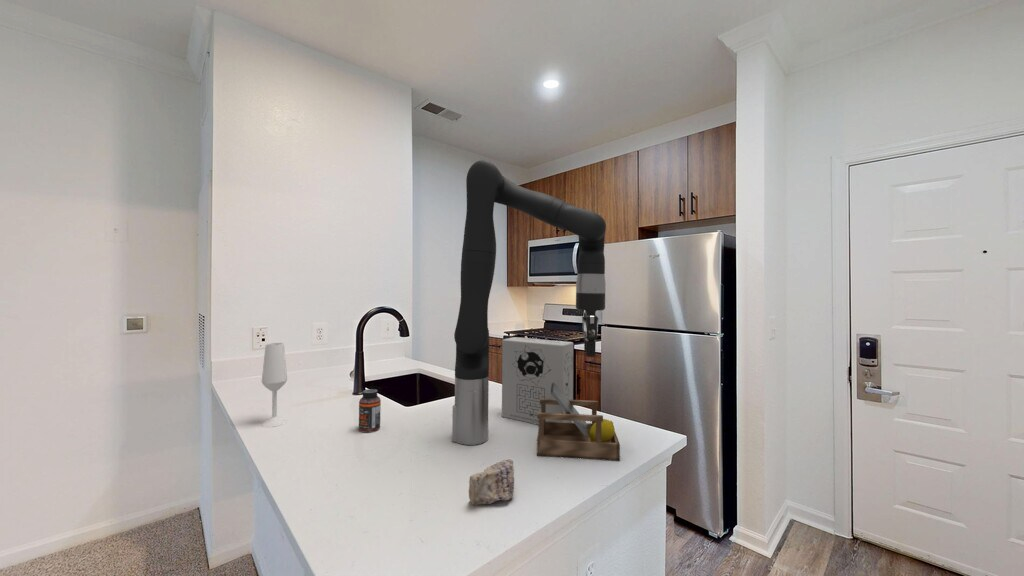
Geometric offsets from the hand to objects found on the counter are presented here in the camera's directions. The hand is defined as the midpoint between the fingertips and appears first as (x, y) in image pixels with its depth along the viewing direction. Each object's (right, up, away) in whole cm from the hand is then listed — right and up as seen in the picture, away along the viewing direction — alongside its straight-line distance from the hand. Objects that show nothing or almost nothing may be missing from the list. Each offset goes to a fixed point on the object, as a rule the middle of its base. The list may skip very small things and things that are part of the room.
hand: (589, 353), depth 103 cm
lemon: (0, -23, -1) cm, 23 cm away
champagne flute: (-92, -24, +17) cm, 97 cm away
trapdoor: (-6, -15, +1) cm, 17 cm away
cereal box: (-12, -25, +21) cm, 35 cm away
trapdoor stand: (-3, -25, +1) cm, 25 cm away
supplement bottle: (-62, -24, +12) cm, 68 cm away
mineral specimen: (-23, -25, -24) cm, 42 cm away
